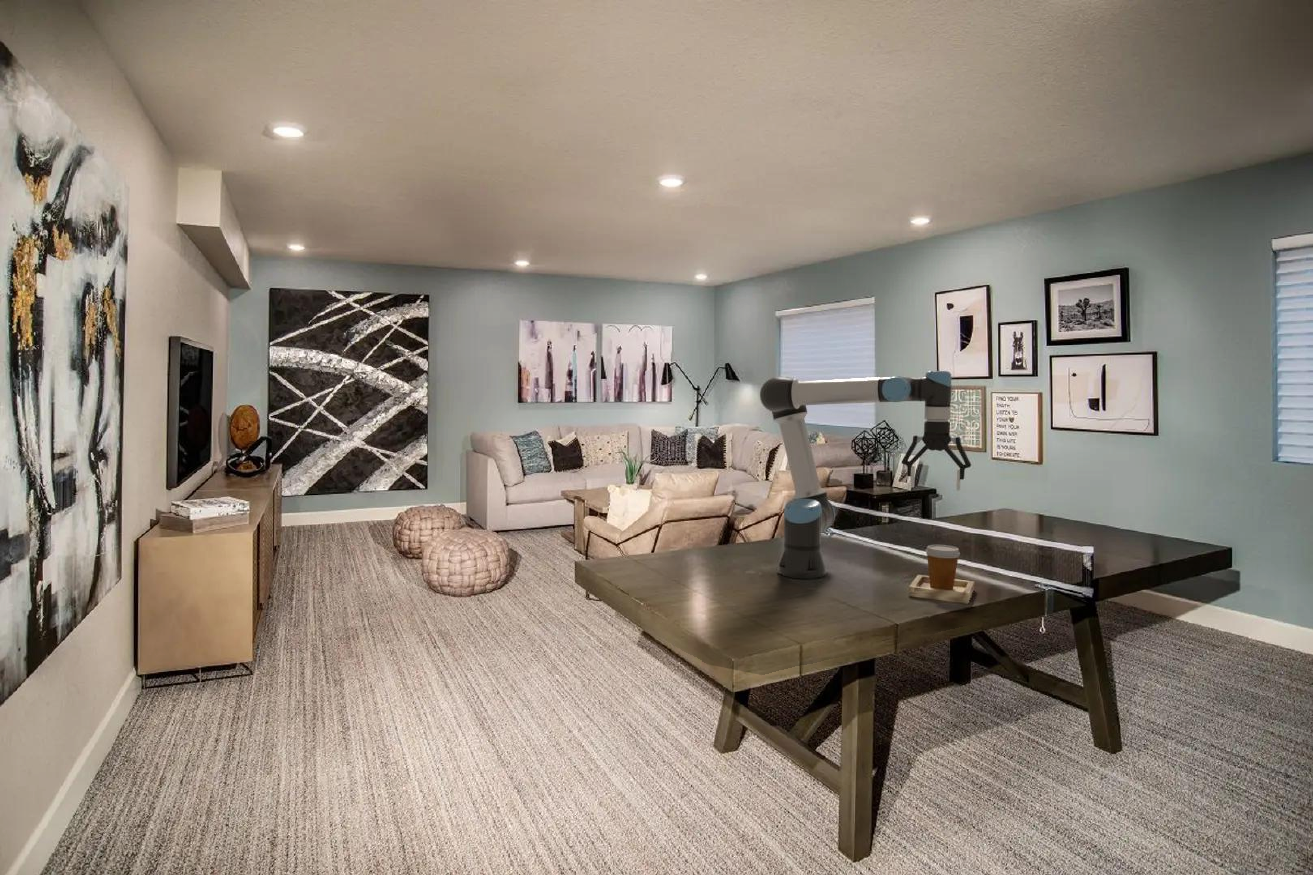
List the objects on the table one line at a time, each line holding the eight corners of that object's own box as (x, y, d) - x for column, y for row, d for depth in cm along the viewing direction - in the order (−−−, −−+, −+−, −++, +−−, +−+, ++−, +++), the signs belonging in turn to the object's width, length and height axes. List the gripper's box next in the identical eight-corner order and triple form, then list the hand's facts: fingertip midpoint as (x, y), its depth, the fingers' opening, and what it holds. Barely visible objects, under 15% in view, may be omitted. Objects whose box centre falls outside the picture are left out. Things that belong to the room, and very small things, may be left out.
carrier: (908, 595, 215) (908, 586, 214) (917, 583, 229) (918, 574, 228) (968, 603, 207) (968, 594, 207) (974, 590, 221) (974, 581, 221)
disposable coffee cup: (948, 594, 212) (949, 552, 211) (918, 587, 220) (919, 547, 219) (965, 588, 218) (966, 548, 217) (935, 581, 226) (936, 543, 225)
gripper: (981, 421, 228) (979, 489, 230) (898, 419, 240) (896, 484, 241) (979, 422, 222) (977, 492, 223) (893, 420, 233) (891, 486, 235)
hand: (935, 488), depth 232 cm, fingers open, 13 cm apart
